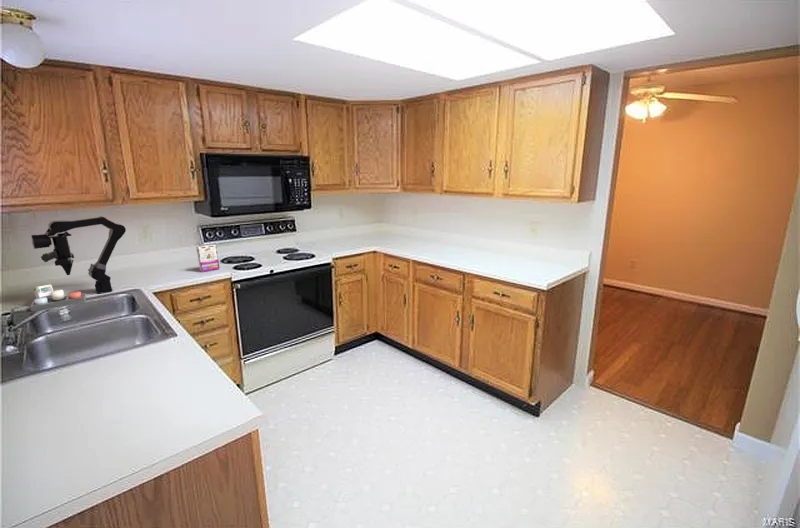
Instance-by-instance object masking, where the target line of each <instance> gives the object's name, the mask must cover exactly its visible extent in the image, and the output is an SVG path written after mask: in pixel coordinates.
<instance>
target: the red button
mask: <svg viewBox="0 0 800 528" xmlns="http://www.w3.org/2000/svg"><path fill="white" fill-rule="evenodd" d="M81 293H82V292H81V291H73V292H69V293H68V295H69V296H70V299H72V298H78V297H82V295H81Z"/></svg>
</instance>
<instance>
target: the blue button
mask: <svg viewBox="0 0 800 528" xmlns="http://www.w3.org/2000/svg"><path fill="white" fill-rule="evenodd" d="M47 299H48V298H47V297H41V298H35V299H33V301H34V302H35V304H41V303H48V300H47Z"/></svg>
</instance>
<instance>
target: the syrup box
mask: <svg viewBox="0 0 800 528" xmlns="http://www.w3.org/2000/svg"><path fill="white" fill-rule="evenodd" d="M52 291H54V288H53V286H52V284H46V285H39V286H35V288H34V296H35V299H37V298H41V297H47V299H49V298H52V296H51V292H52Z"/></svg>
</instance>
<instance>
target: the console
mask: <svg viewBox="0 0 800 528" xmlns="http://www.w3.org/2000/svg"><path fill="white" fill-rule="evenodd" d="M81 295H82V297H78V298H72V299H70V296H69V294H68V295H64V296H65V298H64V299H61V300H53V299H52V297H51V298H47V300H48V303H41V304H35V302H34V300H32V303H31V304H30V306H29V309H30V311H31V312H36V311H43V310H49V309H53V308H60V307H67V306H71V305H72V306H73V305H79V304H84V303H86V299H87V296H86V292H81Z"/></svg>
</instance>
